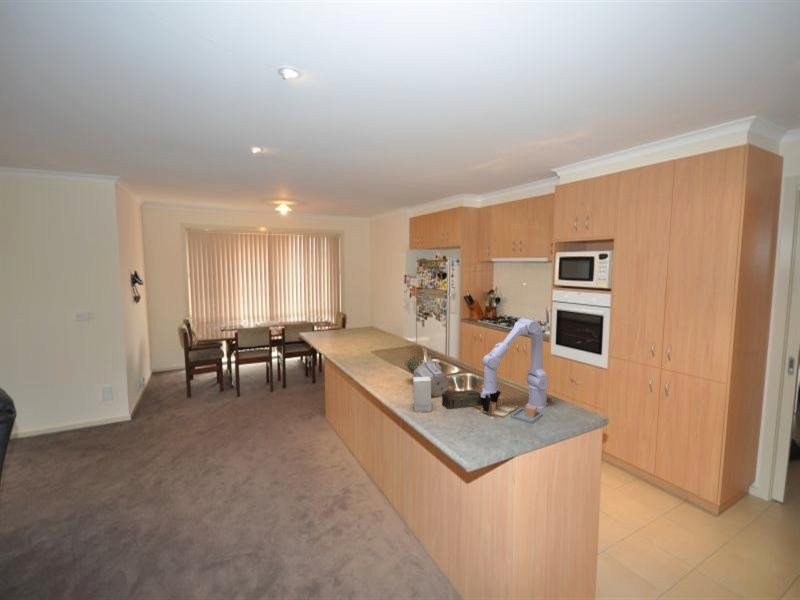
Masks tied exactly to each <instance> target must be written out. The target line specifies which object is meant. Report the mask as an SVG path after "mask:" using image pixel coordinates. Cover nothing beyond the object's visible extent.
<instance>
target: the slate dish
mask: <svg viewBox="0 0 800 600" xmlns="http://www.w3.org/2000/svg"><path fill="white" fill-rule="evenodd" d="M509 415H510V416H509V417H510V418H509V419H513V420H517V421H520V422H524V423H526V424H532V425H533V424H534V423H535V422H536V421H537V420H539V419H540V418H541V417H542V416H543V412H541V411H537V416H535V417H534V418H532V417H528V416H525V407H520V408H519V409H516V410H515V411H513V413H512V414H509Z"/></svg>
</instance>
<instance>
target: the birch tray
mask: <svg viewBox="0 0 800 600" xmlns="http://www.w3.org/2000/svg"><path fill="white" fill-rule="evenodd" d="M518 408H519V406H518V405H514V404H510V403H507V402H503V405H502V406H501V407H497V406H496V411H494V412H493V413H491V412H487V411H484V410H483V407H482V408H481V409H479V412H480V413H484V414H488V415H491V416H495V417H499V418H502V419H503V418H505V417H507V416H509V415H511V413H512V412H515V411H516V410H518Z"/></svg>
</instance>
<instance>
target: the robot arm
mask: <svg viewBox="0 0 800 600" xmlns="http://www.w3.org/2000/svg"><path fill="white" fill-rule="evenodd" d="M524 335H525V336H526V335H528V336H529V337H530V368H529V369H528V370H527V375H526V377H525V379H526V383H527V384H528V402H527V403H526V404H525V407H526V406H528V405H532V406H536V407H537V410H538V409H539V410H542V409H544V408H545V407H546V406H548V405H549V403H548V402H547V393H548V392H547V388H548V386H549V380H548V375H547V373H546V371H545V370H544V364H543V363H544V354H543V353H544V332H543V330H542V328H541V323H539V322H538V321H537V320H535V319H529V318H526V317H520V318H518V320H517V321H516V322H515V323H514V326H513V328H512V329H511V330H510V331H509V333H508V334H507V336H506V337H505V338H504V339H503V341H501V342H498V343H496V344H495V345H494V347H493V349H492V350H491V351H490V352H489V353H488V354H486V355H484V357H483V358H482V360H481V364H482V365H483V369H484V370H483V372H484V374H483V376H484V377H483V387H482V388H481V390H482V391H481V392H480V394H481V395H479V398H480V400H481V402H482V405H481V406H482V408H483V410H484V411H487V412H488V410H489V404H490V401H492V402H496V404H497V400H498V397H499V396H501V393H502V391H501V390H500V386H499V385H497V383H498V382H497V380H498V379H497V377H498V371H497V370H498V368H499V366H500V364H501V360H502V359H503V358H504V356H506V354H507V353H508V352H509V347H510V346H511V345H512V344H514V342H515V341H516V340H517V339H518V338H519V337H520V336H524ZM499 390H500V391H499Z"/></svg>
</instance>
